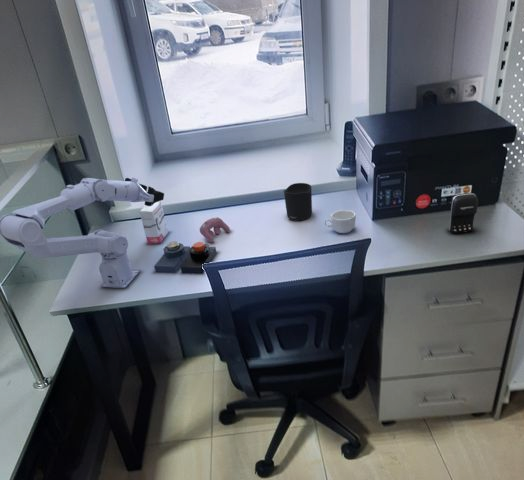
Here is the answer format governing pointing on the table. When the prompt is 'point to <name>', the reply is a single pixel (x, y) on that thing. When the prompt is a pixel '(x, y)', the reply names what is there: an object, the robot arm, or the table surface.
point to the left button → (173, 246)
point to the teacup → (342, 221)
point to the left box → (172, 259)
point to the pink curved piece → (215, 224)
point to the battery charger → (463, 213)
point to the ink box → (154, 222)
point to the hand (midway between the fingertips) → (154, 192)
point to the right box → (198, 260)
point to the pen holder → (298, 201)
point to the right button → (199, 246)
